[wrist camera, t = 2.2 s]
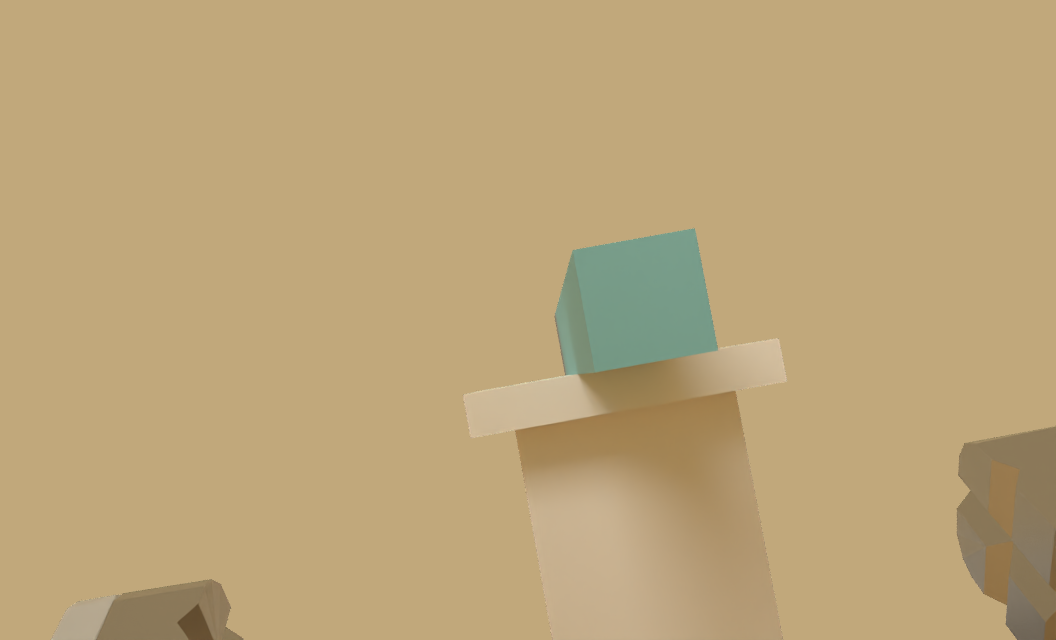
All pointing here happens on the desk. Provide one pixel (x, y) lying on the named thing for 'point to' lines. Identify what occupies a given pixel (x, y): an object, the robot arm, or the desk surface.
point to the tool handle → (634, 304)
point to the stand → (644, 496)
